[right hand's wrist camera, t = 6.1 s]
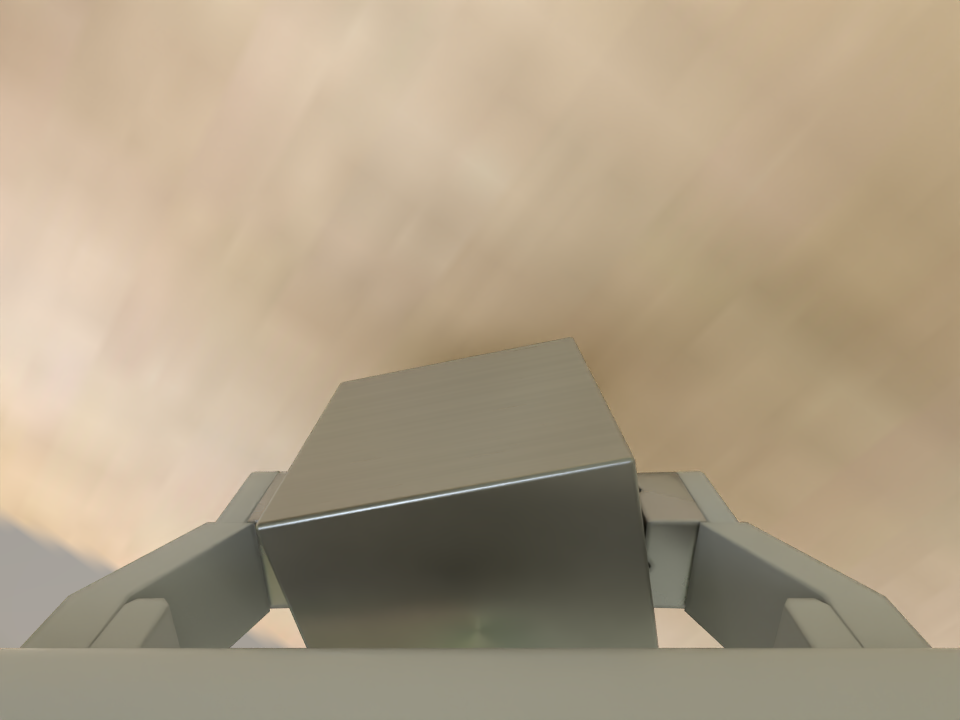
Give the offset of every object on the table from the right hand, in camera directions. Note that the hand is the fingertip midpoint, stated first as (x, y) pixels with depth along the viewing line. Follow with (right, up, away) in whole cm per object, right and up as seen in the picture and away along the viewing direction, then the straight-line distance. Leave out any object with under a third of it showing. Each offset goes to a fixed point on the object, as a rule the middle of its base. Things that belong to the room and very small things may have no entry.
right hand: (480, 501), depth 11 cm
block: (0, +1, +2) cm, 2 cm away
